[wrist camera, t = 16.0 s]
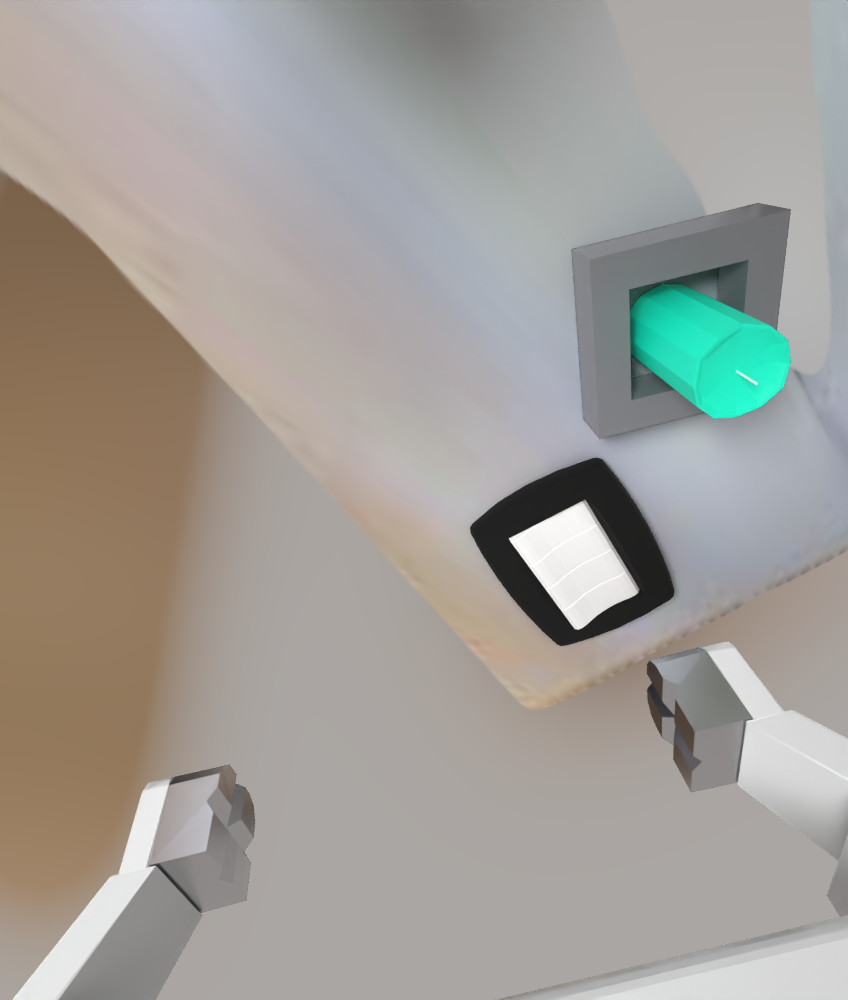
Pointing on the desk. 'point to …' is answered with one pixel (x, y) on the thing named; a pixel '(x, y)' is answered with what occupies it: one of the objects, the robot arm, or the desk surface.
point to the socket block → (655, 258)
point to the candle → (708, 350)
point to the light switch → (575, 553)
